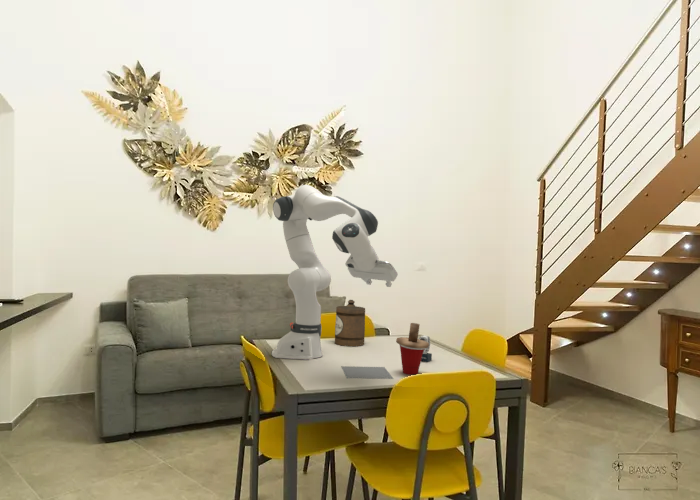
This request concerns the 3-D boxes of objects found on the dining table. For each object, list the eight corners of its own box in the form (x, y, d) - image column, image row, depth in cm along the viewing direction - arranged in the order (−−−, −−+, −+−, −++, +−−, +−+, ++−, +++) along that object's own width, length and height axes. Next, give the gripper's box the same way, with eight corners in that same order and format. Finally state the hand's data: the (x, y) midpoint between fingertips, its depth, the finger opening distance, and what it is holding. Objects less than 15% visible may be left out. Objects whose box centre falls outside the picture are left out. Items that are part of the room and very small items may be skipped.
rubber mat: (346, 379, 202) (346, 378, 202) (341, 367, 220) (341, 366, 220) (393, 379, 204) (393, 378, 204) (384, 367, 222) (384, 367, 222)
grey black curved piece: (414, 360, 238) (415, 336, 238) (421, 357, 245) (422, 333, 244) (425, 363, 235) (427, 338, 235) (433, 359, 242) (434, 335, 241)
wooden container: (335, 340, 277) (337, 297, 277) (364, 341, 277) (366, 299, 276) (333, 345, 262) (335, 300, 262) (363, 347, 262) (366, 302, 261)
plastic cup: (423, 378, 208) (425, 347, 208) (395, 375, 210) (397, 345, 210) (425, 372, 219) (426, 342, 218) (398, 369, 221) (400, 340, 221)
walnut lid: (400, 346, 207) (403, 325, 206) (392, 338, 220) (395, 319, 219) (432, 349, 209) (435, 328, 208) (423, 342, 222) (425, 322, 221)
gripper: (393, 255, 199) (405, 281, 207) (349, 252, 212) (362, 276, 220) (385, 267, 196) (398, 293, 204) (341, 263, 208) (355, 287, 216)
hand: (379, 284), depth 212 cm, fingers open, 8 cm apart
